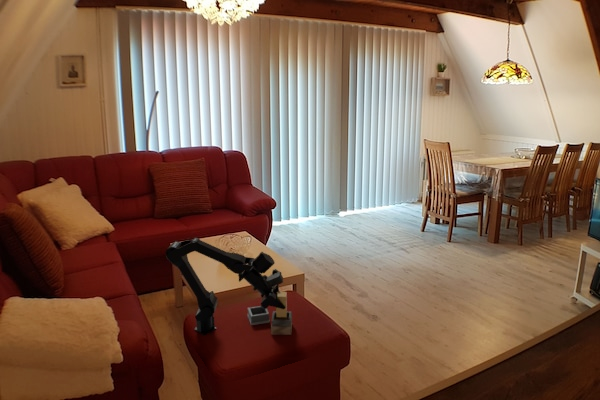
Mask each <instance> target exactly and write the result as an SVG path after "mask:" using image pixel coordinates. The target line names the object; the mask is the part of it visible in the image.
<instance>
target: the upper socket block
mask: <svg viewBox="0 0 600 400" xmlns="http://www.w3.org/2000/svg"><path fill="white" fill-rule="evenodd" d="M292 329H293V316H292V311H288V310H287V317H276V310H273V311H272V314H271V326H270V333H271V335H274V336H275V335H276V336H277V335H279V336H282V335H285V336H287V335H288V336H289V335H291V336H292V333H293V332H292V331H293V330H292Z"/></svg>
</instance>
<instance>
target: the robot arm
mask: <svg viewBox="0 0 600 400" xmlns="http://www.w3.org/2000/svg"><path fill="white" fill-rule="evenodd" d="M194 252H196V253H198V254H201V255H203V256H205V257H206V258H207V257H208V258H210V259H211V260H214V261H216V262H218V263H221V264H223V265H224V266H225V267H226V269H228V270H230V271H231V272H232V273H234V274H237V276H238V282H241V281H242V280H245V281H246V282H247V283H249V285H250V286H251V287H253V288H252V290H253V291H257V292H258V293H259V294H260V297H261V301H260V306H261V307H262V308H263V309H266V308H267V309H268V307H273V308H276V307H277V308H281V309H285V306H284V305H283V303H282V302H281V301H280V300H279V299H278V293H277V292H281V291H280V284H283V283H284V277H283V275H282V273H283V272H281V271H280V270H278V269H276V268H275V269H272V270H271V271H272V273H271V274H270V275H269V276H268V275H267V274H265V273H266V272H267V271H268V270H269V269H270V268H272V266H274V265H275V260H274V259H273V257H272V256H271V255H270V254H267V253H265V252H264V251H261V252H260V253H259V254H258V255H257V256H256V257H255V258H254V257H247V256H245V255H243V254H239V253H236V252H228V251H225V250H224V249H221V248H219V247H216V246H214V245H212V244H209V243H208V242H206V241H203V240H201V239H199V238H198V237H195V238H191V239H186V240H182V241H173V242H172V243H171V244H170V245H169V246H168V247H167V248H166V250H165V257H166V259H167V260H168V261H169V262H170V263H171V264H172V265H173V266H175V267H177V268H178V270H179V271H180V273H181V274H182V276H183V278H184V279H185V281H186V283H187V284H188V287H190V289H191V291H192V293H193V295H194V296H195V297H196V302H197V306H198V308H197V311H196V314H195V316H194V318H195V322H196V326H195V328H194V331H196V332H197V333H199V334H201V335H203V336H205V335H207V334H210V333H211V332H213V331H216V330H217V327H216V326H215V317H214V313H216V312H215V311H216V310H217V309H216V308H217V307H218V297H217V296H216V295H215V292H214V291H213V290H212V291H210V292H209V291H208V290H207V289H206V287H205V286H204V285H203V282H202V281H201V279H200V277H199V276H198V275H197V272H196V271H195V269H194V268H193V266H192V264H191V263H190V262H189V259H188V258H189V257H188V254H190V253H194ZM262 274H263V275H262Z"/></svg>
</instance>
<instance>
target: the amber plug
mask: <svg viewBox="0 0 600 400" xmlns="http://www.w3.org/2000/svg"><path fill="white" fill-rule="evenodd" d="M277 293H278V299H279V300H280V301H281V302H282V303H283V305H284V306H285V309H281V308H277V307H275V308H276V309H275V311H276V317H287V311H288V295H287V293H288V292H287V291H280V292H277Z"/></svg>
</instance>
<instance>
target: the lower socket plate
mask: <svg viewBox="0 0 600 400" xmlns="http://www.w3.org/2000/svg"><path fill="white" fill-rule="evenodd" d="M247 319H248V320H249V325H250V326H256V325H262V324H270V322H271V320H270V313H269V310H268V307H267V308H266V309H263V308H262V307H261V305H259V306H258V305H257V306H251V307H247Z"/></svg>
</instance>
